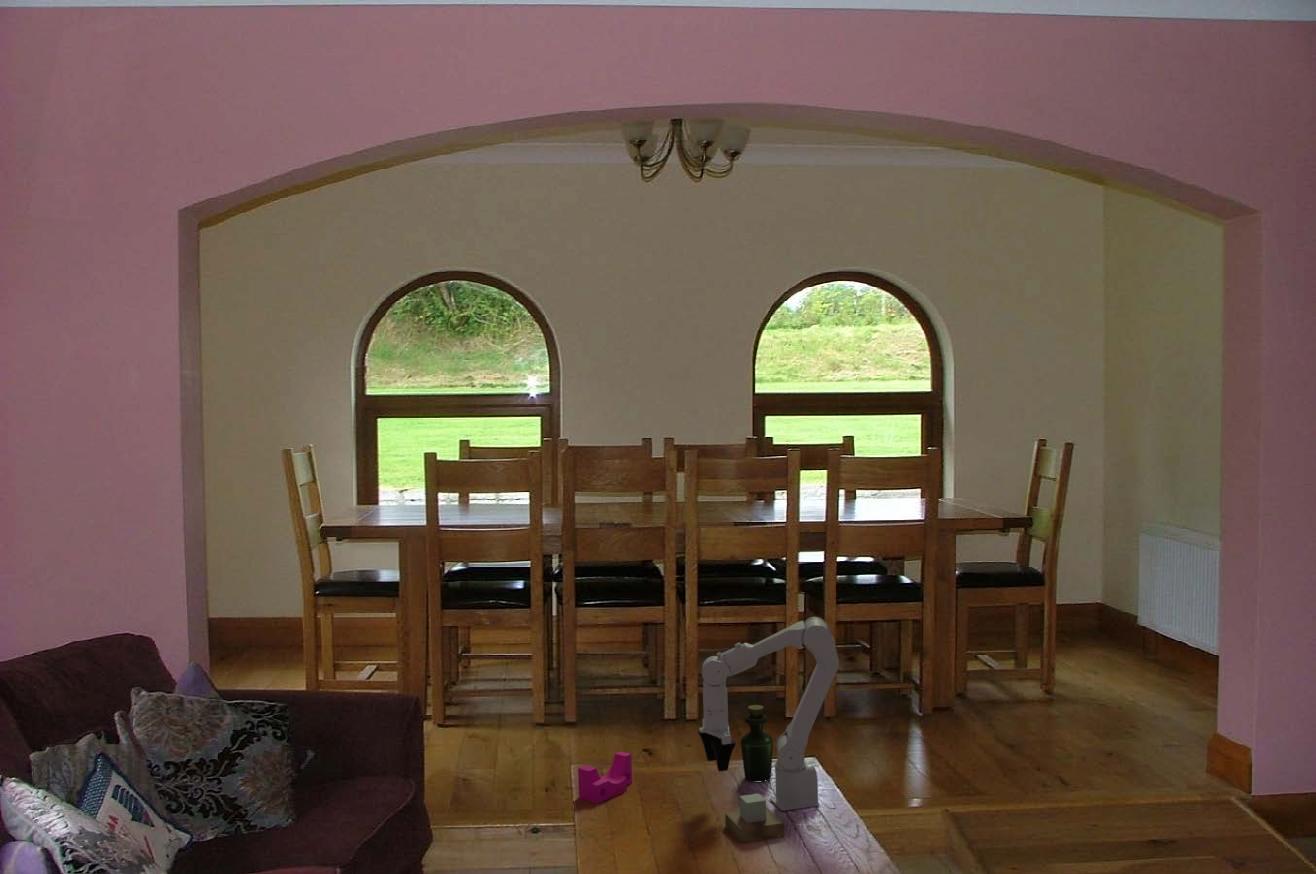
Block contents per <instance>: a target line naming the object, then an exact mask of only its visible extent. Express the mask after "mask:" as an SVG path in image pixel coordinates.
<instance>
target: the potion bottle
mask: <svg viewBox="0 0 1316 874" xmlns="http://www.w3.org/2000/svg"><path fill="white" fill-rule="evenodd" d="M747 708H748V714H746V715H745V716H744V722H745V723H746V724H748V727H749V729H750V731H749V732H747V733H745V734H743V736H741V738H740V747H741V756H742V765H743V772H744V778H745V780H747V779H748V780H751V781H765V780H768V779H769V780H770V779H771V777H772V766H773V751H774V750H773V748H774V739H773V738H772V736H771V734H769V733H766V732H765V731H763V729H764V724H766V723H768V722H769V719H768V717H767V715H766V714H764V713H763V711H764V706H763V705H761V704H753V705H748V707H747ZM748 780H747V781H748ZM769 780H768V781H769ZM751 781H750V782H751ZM765 782H766V781H765Z"/></svg>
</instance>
